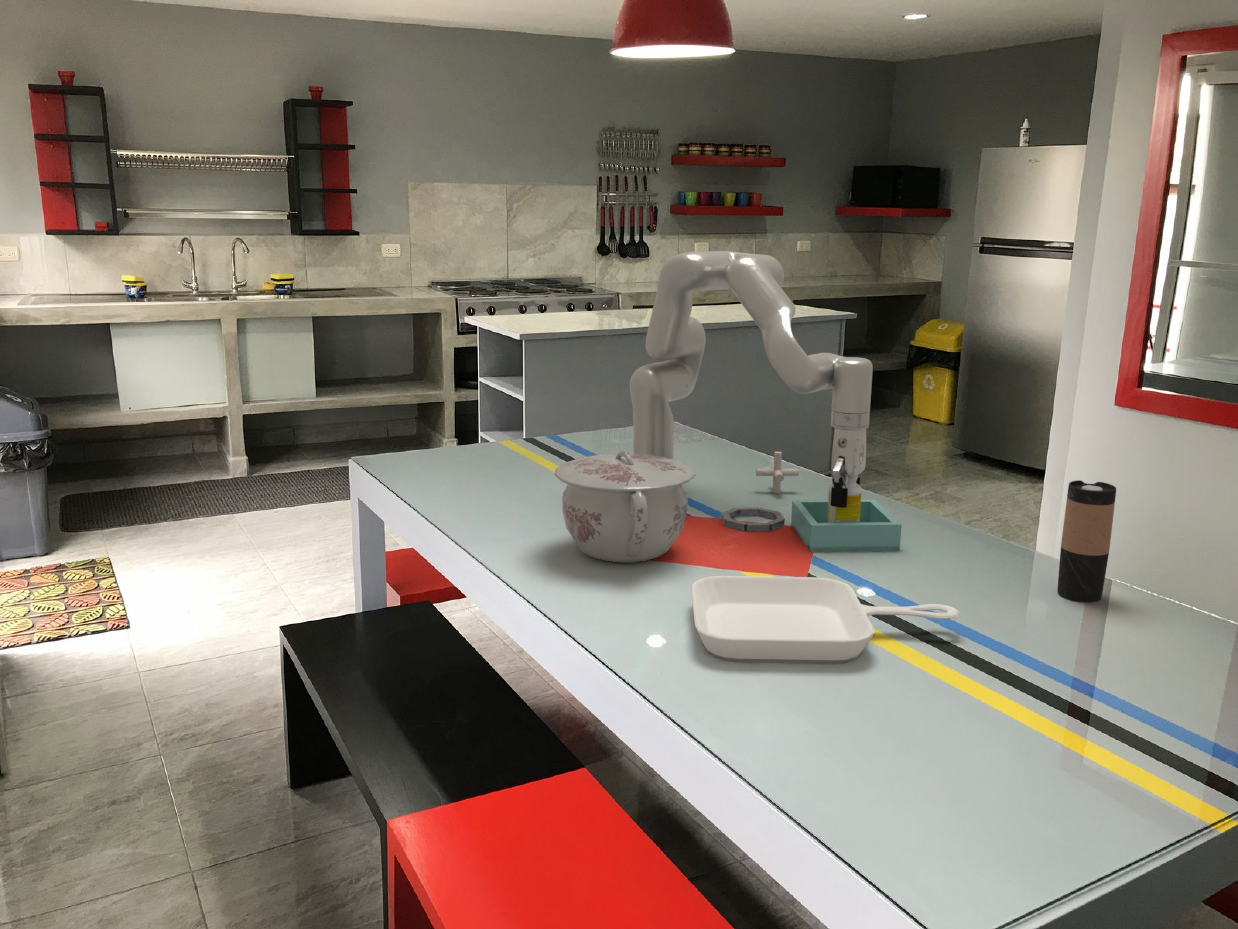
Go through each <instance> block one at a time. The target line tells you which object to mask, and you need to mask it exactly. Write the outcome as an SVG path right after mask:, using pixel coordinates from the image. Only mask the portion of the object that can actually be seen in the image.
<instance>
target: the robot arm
mask: <svg viewBox="0 0 1238 929" xmlns="http://www.w3.org/2000/svg"><path fill="white" fill-rule="evenodd" d="M784 279H785V272H784V269H783V266H782V264H781V263H780V262H779V260H777V258H775V257H774V256H773V255H769V254H759V253H757V254H756V253H747V252H739V251H727V250H710V251H705V250H701V251H700V250H699V251H690V252H689V251H688V252H683V253H679V254H675V255H674V256H672V257H670V258H668V260H667V261H666V262H664V264H663V265H662V267H661V269H660V272H659V275H658V280H657V287H656V294H655V297H654V298H655V300H654V304H653V307H652V311H651V316H650V320H649V324H648V328H647V332H646V338H645V351H646V353H647V355H649V357H650V358H652V359H654V360H656V362H653V363H648V364H644V365H642V366H639V368H637V369H636V370H635V371H634V372H633V373H632V375H631V377H630V380H629V394H630V398H631V399H630V400H631V404H632V420H633V421H632V422H633V430H632V431H633V449H632V450H633V453H632V454H643V455H653V456H659V457H666V458H669V459H673V460H675V458H674V454H675V452H674V449H675V448H674V446H675V421H674V415H673V413H672V409H671V406H670V403H671V402H674V401H678V400H679V401H680V400H682V399H684V398H687V397H688V396H689V395H690V394H691V393H692V392H693V390H694V389H695V386H696V383H697V380H698V376H699V372H700V369H701V364H702V360H703V357H704V354H705V348H706V343H707V342H706V340H707V338H706V337H707V336H706V331H705V328H704V326H703V324H702V323H701V322H700V320H698V319H697V318H695V317H693V316H691V313H692V309H693V295H692V292H706V291H707V292H708V291H720V290H725V291H727V290H729V291H731V292H732V293H733V294H734V296H735V297H736V298H737V300H738V301H739V303H740V304H741V305H742V307H743V308H744V309H745V311H747V313H748V315H749V316H750V318H751V319H752V320H753V321H754V322H755V324H756V325H757V327H758V328H759V329H760V331H761V334H762V341H763V346H764V349H765V350H764V351H765V354H766V356H767V359H768V361H769V363H770V364H771V366H772V367H773V369H774V370H775V372H776V373H777V374H778V376H779V377H780V378H781V379H782V381H783V382H784V383H785V384H786V385H787V387H789V388H790V390H792V391H794V392H796V393H797V394H801V395H808V394H812V393H816V392H820V391H826V390H830V389H832V398H831V413H830V414H831V415H830V426H831V427H832V428H834V434H833V441H832V442H833V443H832V449H831V467H830V469H831V470H830V471H831V472H830V473H831V474H832V478H831V480H832V481H831V484H832V488H831V506H834V507H841V508H846V507H847V495H848V488H846V486H847V482H848V478H849V476H851V477H852V478H855V477H856V476H858V479H857V481H856V484H858V485H859V486H860V487H861V474H862V472H864V471H865V469H866V466H867V465H866V463H867V429H869V427H870V414H871V399H872V398H871V396H872V384H873V371H874V370H873V366H874V365H873V363H872V361H871V360H870V359H867V358H864V357H855V356H854V357H853V356H852V357H851V356H850V357H849V356H848V357H847V356H843V355H839V354H835V353H832V352H819V353H813V354H809V355H807V353H806V352H805V351H804V349H803V348H802V347H801V345H800V344H799V343H798V341H797V339H796V338H795V336H794V334H793V331H792V319H793V318H794V316H795V314H796V312H797V310H796V309H797V308H796V306H795V304H794V302H793V301H792V300H791V299H790V297H789V296H788V295H787V293H786V292H785V291H784V290H783V288H782V285H783V283H784V281H785V280H784ZM657 361H658V362H657ZM842 478H844V482H843V479H842Z"/></svg>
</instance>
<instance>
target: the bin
mask: <svg viewBox="0 0 1238 929" xmlns="http://www.w3.org/2000/svg"><path fill="white" fill-rule="evenodd" d="M827 511H828V499H811V500H810V499H808V500H807V499H805V500H804V499H803V500H802V499H800V500H791V516H790V518H791V520H790V526H791V527H792V528H793V530H794V531H795V533H796V534H797V535H798V536H799V538H800V540H801V541H802V542H803V544H804V545H805V547H806V548H807V549H808V551H809V552H810V553H823V552H824V553H828V552H829V553H832V552H833V553H836V552H839V553H840V552H900V549H901V540H902V538H901V537H902V526H903V525H902V523H901V522H900V521H899V520H897V519H896V518H895V517H894V516H893V515H892V514H891V513H890V512H889V511H888V510H887V509H886V508H885V507H884V506H882V505H881V504H880V503H879V502H878V501H877V500H876V499H861V508H860V523H827Z"/></svg>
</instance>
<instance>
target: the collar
mask: <svg viewBox="0 0 1238 929" xmlns="http://www.w3.org/2000/svg"><path fill="white" fill-rule="evenodd" d="M720 516H721V517H720V518H721V522H722V524H723V526H724V527H726V528H729V529H733V530H736V531H741V532H747V533H751V532H753V533H755V532H756V533H757V532H760V533H761V532H767V533H769V532H773V531H775V530H778V529H780V528H783V527H785V521H786V518H785V517H784V515H783V514H782V513H781V512H780V511H777V510H773V509H769V508H764V507H754V506H753V507H751V506H750V507H734V508H731V509H728V510H725V511H722V512H721V515H720ZM738 517H761V518H766V519H770V521H768V522H746V521H742V520H737V519H734V518H738Z"/></svg>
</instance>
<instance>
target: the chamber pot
mask: <svg viewBox="0 0 1238 929" xmlns="http://www.w3.org/2000/svg"><path fill="white" fill-rule="evenodd" d="M553 475H554V476H555V477H556V478H557V479H558V480H559V481H560V482H562V483H564V484H566V485H567V486H565V489H564V491H563V492H562V497H561V498H562V500H561V501H562V509H561V510H562V514H563V519H564V524H565V527H566V528H565V529H566V531H568V533H569V534H570V536H571V538H572V539H573V541H574V542H575V544H576V545H577V547H578V548H579V549H580V550H581V551H582V552H583V553H584V554H586V556H589V557H592V558H594V559H596V560H601V561H604V562H608V561H609V562H608V563H615V562H618V563H617V564H634V563H633V562H635V563H641V562H644V561H645V562H646V561H649V560H652V559H653V560H654V559H657V558H659V557H661V556H663V555H665V554H666V553H667V552H668V551H669V550H670V548H671V547H672V546H673V545H674V543H675V541H676V540H677V539H678V537H679V535H680V534H681V532H682V531H683V529H684V525H685V522H686V518H687V513H688V495H687V494H688V493H687V492H686V489H685V488H684V487H683V485H685V484H686V483H689V482H690V481H691V480H692V479H694V477H696V472H695V469H694V468H693V467H692V466H690V465H689V464H686V463H685V462H682V461H680V460H676V459H674V460H673V459H669V458H666V457H659V456H653V455H643V454H633V453H630V451H627V450H625V449H622V450H620V451H619V452H618V453H607V454H596V455H589V456H584V457H580V458H576V459H572V460H569V461H565V462H563V463H562V464H561V465H559V466H558V467H556V468H555V469H554V474H553Z"/></svg>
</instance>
